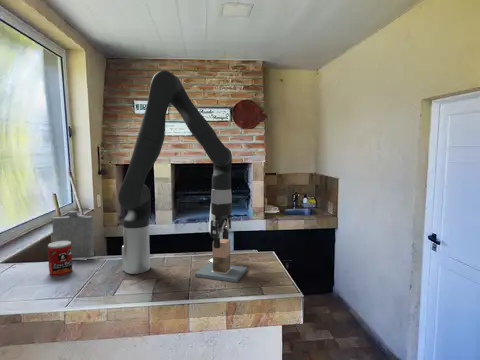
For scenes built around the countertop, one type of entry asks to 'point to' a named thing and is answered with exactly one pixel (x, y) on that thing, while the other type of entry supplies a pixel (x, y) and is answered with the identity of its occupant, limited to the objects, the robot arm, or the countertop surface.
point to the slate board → (221, 273)
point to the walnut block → (221, 264)
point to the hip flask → (75, 233)
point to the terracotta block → (222, 249)
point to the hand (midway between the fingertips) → (221, 244)
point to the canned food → (60, 257)
